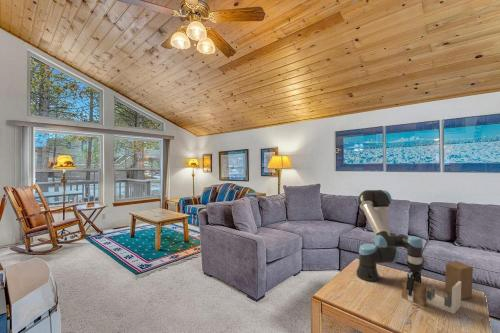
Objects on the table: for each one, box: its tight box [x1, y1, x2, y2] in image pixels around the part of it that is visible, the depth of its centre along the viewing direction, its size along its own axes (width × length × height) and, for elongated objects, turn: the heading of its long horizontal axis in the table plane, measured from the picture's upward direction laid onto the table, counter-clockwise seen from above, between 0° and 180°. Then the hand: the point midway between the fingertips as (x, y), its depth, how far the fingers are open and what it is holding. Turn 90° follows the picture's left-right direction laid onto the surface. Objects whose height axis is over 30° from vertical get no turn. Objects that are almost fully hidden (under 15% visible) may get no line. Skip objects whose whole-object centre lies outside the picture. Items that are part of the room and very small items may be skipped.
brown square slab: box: [401, 277, 428, 308], centre depth 149 cm, size 12×4×12 cm, turn 35°
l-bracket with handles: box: [426, 281, 462, 315], centre depth 147 cm, size 16×12×15 cm
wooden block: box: [444, 260, 474, 301], centre depth 155 cm, size 10×10×20 cm
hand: (413, 297), depth 150 cm, fingers open, 9 cm apart
